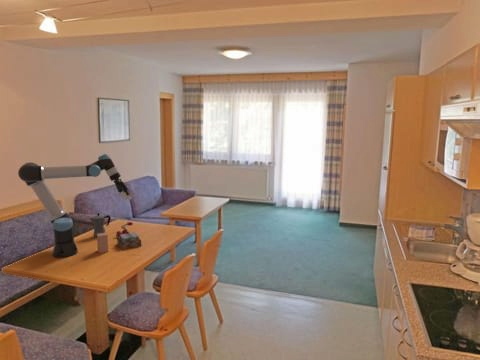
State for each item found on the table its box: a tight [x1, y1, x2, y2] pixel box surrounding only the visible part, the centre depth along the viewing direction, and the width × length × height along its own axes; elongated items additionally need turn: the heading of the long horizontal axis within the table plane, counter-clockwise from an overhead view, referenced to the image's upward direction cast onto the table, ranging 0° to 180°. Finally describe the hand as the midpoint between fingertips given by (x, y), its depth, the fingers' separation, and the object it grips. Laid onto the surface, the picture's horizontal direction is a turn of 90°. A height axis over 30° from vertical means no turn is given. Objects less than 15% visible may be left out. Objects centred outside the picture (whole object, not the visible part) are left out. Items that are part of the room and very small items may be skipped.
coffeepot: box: [89, 212, 111, 238], centre depth 283 cm, size 15×9×18 cm, turn 112°
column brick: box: [96, 232, 109, 254], centre depth 247 cm, size 6×6×12 cm
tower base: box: [116, 231, 142, 250], centre depth 260 cm, size 14×14×7 cm
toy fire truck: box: [115, 221, 134, 238], centre depth 283 cm, size 3×14×10 cm, turn 143°
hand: (128, 199), depth 266 cm, fingers open, 13 cm apart
